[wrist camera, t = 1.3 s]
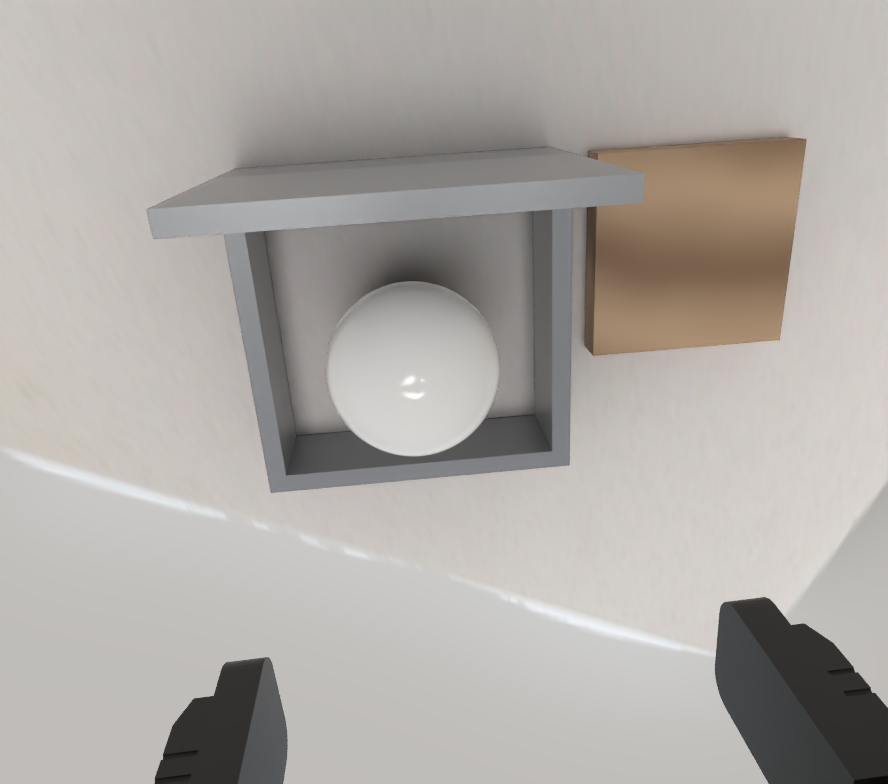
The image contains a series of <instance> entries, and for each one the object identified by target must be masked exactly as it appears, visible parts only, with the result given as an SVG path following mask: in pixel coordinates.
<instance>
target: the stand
mask: <svg viewBox="0 0 888 784" xmlns="http://www.w3.org/2000/svg"><path fill="white" fill-rule="evenodd" d="M806 140H807V139H801V138H790V137H785V138H771V139H756V140H742V141H728V142H714V143H699V144H685V145H671V146H657V147H642V148H628V149H614V150H600V151H588V158H592V159H596V160H599V161H603V162H606V163H610V164H613V165H617V166H620V167H624V168H627V169H631V170H635V171H638V172H642V173H645V179H644V200H643V203H636V204H622V205H609V206H595V207H587V252H586V303H585V346H586V348H587V349H588V350H589V351H590V352H591V354H592V355H593V356H595V355H607V354H619V353H631V352H643V351H654V350H666V349H678V348H690V347H701V346H713V345H725V344H737V343H749V342H760V341H772V340H780V333H781V326H782V319H783V311H784V304H785V296H786V289H787V281H788V274H789V266H790V259H791V251H792V244H793V237H794V229H795V222H796V214H797V207H798V199H799V192H800V184H801V177H802V169H803V162H804V155H805V147H806Z"/></svg>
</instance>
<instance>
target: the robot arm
mask: <svg viewBox="0 0 888 784" xmlns="http://www.w3.org/2000/svg"><path fill="white" fill-rule="evenodd" d="M715 675H716V682H717V686H718V690H719V693H720V696H721V699H722V701H723V703H724V705H725V707H726V709H727V711H728V713H729V714H730V716H731V718H732V720H733V721H734V723H735V725H736V726H737V728H738V730H739V732H740V734H741V735H742V737H743V739H744V741H745V743H746V744H747V746H748V748H749V749H750V751H751V753H752V755H753V756H754V758H755V760H756V762H757V764H758V765H759V767H760V769H761V771H762V772H763V774H764V776H765V778H766V779H767V781H768V783H769V784H888V708H887V707H886V706H885V704H884V703H883V702H882V701H881V700H880V698H879V697H878V696H877V695H876V694H875V693H872V692H871V689H870V686H869V685H868V684H867V683H866V682H865V681H864V679H863V678H862V677H861V676H860V675H859V673H855V671H854V668H853V666H852V665H851V664H850V662H849V661H848V660H847V659H846V658H845V657H844V655H843V654H842V653H841V652H840V651H839V649H838V648H837V647H836V646H835V645H834V643H832V642H831V641H829V640H828V639H826V638H825V637H823V636H822V635H820V634H819V633H818V632H816V631H815V630H813V629H812V628H810V627H809V626H807V625H806V624H797V625H790V624H789V622H788V621H787V619H786V618H785V617H784V616H783V614H782V613H781V612H780V610H779V609H778V608H777V607H776V605H775V604H774V603H773V602H772V601H771V600H770V599H768V598H765V597H763V598H755V599H747V600H738V601H730V602H724V603H723V604H722V605H721V608H720V613H719V625H718V637H717V649H716V661H715ZM286 760H287V729H286V721H285V716H284V712H283V708H282V704H281V699H280V695H279V691H278V686H277V682H276V678H275V673H274V669H273V665H272V662H271V660H270V658H269V657H268V658H267V657H266V658H258V659H250V660H242V661H234V662H226V663H225V664H224V665H223V667H222V670H221V673H220V676H219V680H218V683H217V687H216V690H215V694H214V696H211V697H203V698H195V699H193V700H192V702H191V703H190V704H189V706H188V707H187V708H186V709H185V711H184V712H183V713H182V714H181V716H180V717H179V718H178V719H177V721H176V722H175V723H174V725H173V726H172V730H171V732H170V735H169V738H168V741H167V744H166V747H165V750H164V753H163V760H161V762H160V765H159V768H158V771H157V774H156V776H155V784H283V781H284V773H285V767H286Z"/></svg>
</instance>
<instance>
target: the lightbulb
mask: <svg viewBox="0 0 888 784" xmlns="http://www.w3.org/2000/svg"><path fill="white" fill-rule="evenodd" d="M325 375H326V383H327V388H328V392H329V396H330V399H331V401H332V404H333V406H334V408H335V410H336V412H337V413H338V415H339V417H340V418H341V420H342V421H343V422H344V424H345V425H346V426H347V427H348V428H349V429H350V430H351V431H352V432H353V433H354V434H355V435H356V436H357V437H359V438H360V439H361V440H363V441H364V442H366V443H367V444H369V445H371V446H373V447H375V448H377V449H379V450H381V451H384V452H387V453H391V454H395V455H401V456H426V455H431V454H435V453H439V452H442V451H445V450H447V449H449V448H452V447H453V446H455V445H457V444H459V443H460V442H462V441H463V440H465V439H466V438H467V437H469V436H470V435H471V434H472V433H473V432H474V431H475V430H476V429H477V428H478V427H479V426H480V425H481V423H482V422H483V421H484V419H485V418H486V416H487V415H488V413H489V411H490V409H491V407H492V405H493V403H494V401H495V398H496V395H497V391H498V387H499V381H500V356H499V350H498V346H497V343H496V340H495V337H494V335H493V332H492V330H491V328H490V326H489V325H488V323H487V321H486V320H485V318H484V317H483V316H482V314H481V313H480V312H479V311H478V310H477V309H476V308H475V307H474V306H473V305H472V304H471V303H470V302H469V301H468V300H466V299H465V298H464V297H462V296H461V295H459V294H458V293H456V292H454V291H452V290H450V289H448V288H445V287H443V286H440V285H437V284H433V283H428V282H420V281H405V282H397V283H393V284H389V285H385V286H383V287H380V288H378V289H375V290H373V291H371V292H370V293H368V294H366V295H365V296H363V297H362V298H360V299H359V300H358V301H357V302H355V303H354V304H353V305H352V306H351V307H350V308H349V309H348V310H347V311H346V313H345V314H344V315H343V317H342V318H341V319H340V321H339V322H338V324H337V326H336V328H335V329H334V332H333V334H332V336H331V339H330V342H329V345H328V349H327V354H326V363H325Z"/></svg>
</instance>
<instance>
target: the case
mask: <svg viewBox="0 0 888 784" xmlns="http://www.w3.org/2000/svg"><path fill="white" fill-rule="evenodd" d="M644 179H645V173H642V172H638V171H635V170H631V169H627V168H624V167H620V166H617V165H613V164H610V163H606V162H603V161H599V160H596V159H592V158H588V157H585V156H581V155H578V154H574V153H571V152H567V151H564V150H560V149H556V148H553V147H539V148H525V149H510V150H496V151H482V152H467V153H453V154H439V155H424V156H410V157H396V158H381V159H367V160H352V161H338V162H324V163H309V164H295V165H281V166H266V167H252V168H238V169H233V170H231V171H229V172H226V173H224V174H222V175H220V176H218V177H216V178H213V179H211V180H209V181H207V182H205V183H203V184H200V185H198V186H196V187H194V188H192V189H189V190H187V191H185V192H183V193H181V194H179V195H176V196H174V197H172V198H170V199H168V200H166V201H163V202H161V203H159V204H157V205H155V206H152V207H150V208H148V209H146V210H147V214H148V219H149V223H150V228H151V232H152V237H153V239H164V238H177V237H191V236H204V235H218V234H224V238H225V244H226V249H227V255H228V260H229V266H230V271H231V277H232V282H233V288H234V293H235V299H236V304H237V310H238V315H239V321H240V326H241V332H242V337H243V343H244V348H245V354H246V359H247V365H248V370H249V376H250V381H251V387H252V392H253V398H254V403H255V409H256V414H257V420H258V425H259V431H260V436H261V442H262V447H263V453H264V458H265V464H266V469H267V475H268V480H269V486H270V491H271V493H275V492H286V491H297V490H307V489H318V488H329V487H340V486H351V485H361V484H372V483H383V482H394V481H405V480H415V479H426V478H437V477H448V476H459V475H469V474H480V473H491V472H502V471H513V470H523V469H534V468H545V467H556V466H567V465H570V376H571V287H572V208H582V207H595V206H609V205H622V204H636V203H643V200H644ZM528 211H533V294H534V389H535V415H527V416H515V417H504V418H493V419H484V421H483V422H482V423H481V425H480V426H479V427H478V428H477V429H476V430H475V431H474V432H473V433H472V434H471V435H470V436H469V437H467V438H466V439H465V440H463V441H462V442H460V443H459V444H457V445H455V446H453V447H452V448H449V449H447V450H445V451H442V452H439V453H435V454H431V455H426V456H401V455H395V454H391V453H387V452H384V451H381V450H379V449H377V448H375V447H373V446H371V445H369V444H367V443H366V442H364V441H363V440H361V439H360V438H359V437H357V436H356V435H355V434H354V433H353V432H352V431H346V432H335V433H324V434H313V435H301V436H296V430H295V424H294V417H293V411H292V405H291V399H290V392H289V386H288V380H287V373H286V367H285V361H284V355H283V348H282V342H281V336H280V330H279V323H278V317H277V311H276V304H275V298H274V292H273V286H272V279H271V273H270V267H269V261H268V254H267V248H266V242H265V236H264V231H272V230H285V229H299V228H312V227H326V226H339V225H353V224H366V223H380V222H393V221H407V220H420V219H434V218H447V217H460V216H474V215H487V214H501V213H514V212H528Z"/></svg>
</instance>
